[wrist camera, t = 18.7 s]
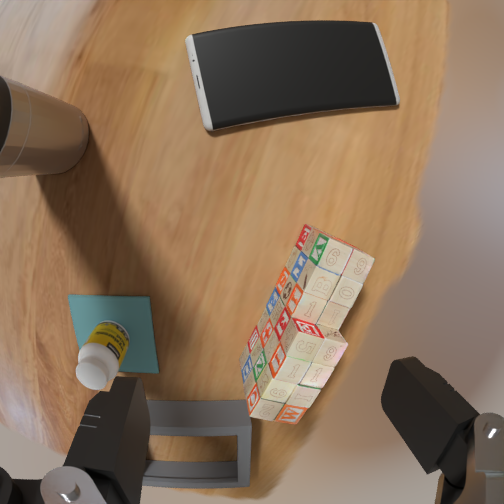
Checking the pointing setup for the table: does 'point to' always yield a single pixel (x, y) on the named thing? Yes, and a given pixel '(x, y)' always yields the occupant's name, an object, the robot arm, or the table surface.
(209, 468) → the box
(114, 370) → the supplement bottle
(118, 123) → the table surface
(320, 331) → the stack of blocks
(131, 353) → the mat
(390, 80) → the smartphone
